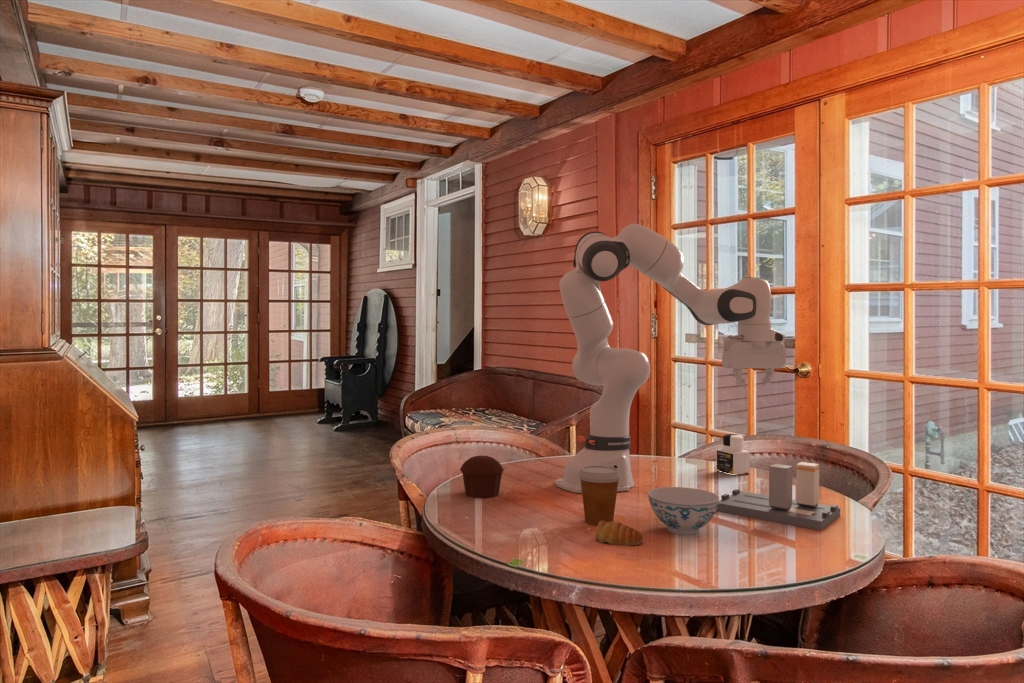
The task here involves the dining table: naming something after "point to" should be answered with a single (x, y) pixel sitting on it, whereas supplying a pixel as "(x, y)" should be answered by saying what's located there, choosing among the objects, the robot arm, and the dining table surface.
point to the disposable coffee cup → (599, 492)
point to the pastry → (617, 534)
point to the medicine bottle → (733, 455)
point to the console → (777, 510)
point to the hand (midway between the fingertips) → (753, 384)
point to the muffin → (482, 477)
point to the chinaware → (683, 508)
